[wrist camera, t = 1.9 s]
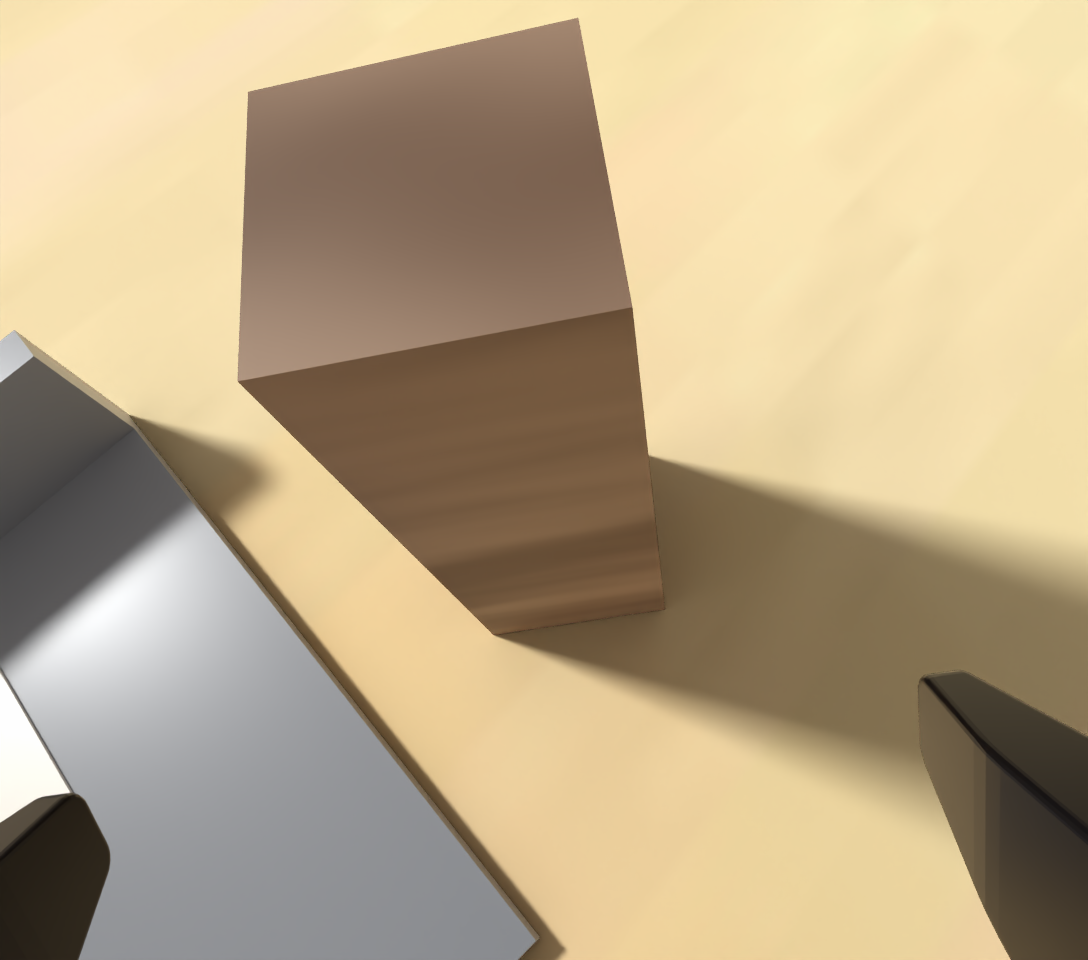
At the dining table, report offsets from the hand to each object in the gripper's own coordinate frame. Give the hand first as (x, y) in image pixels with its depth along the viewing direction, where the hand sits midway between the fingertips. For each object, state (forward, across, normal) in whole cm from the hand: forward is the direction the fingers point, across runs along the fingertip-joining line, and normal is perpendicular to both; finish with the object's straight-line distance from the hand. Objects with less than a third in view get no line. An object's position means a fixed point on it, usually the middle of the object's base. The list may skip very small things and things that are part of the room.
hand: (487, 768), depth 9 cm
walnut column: (+14, 0, +4) cm, 14 cm away
